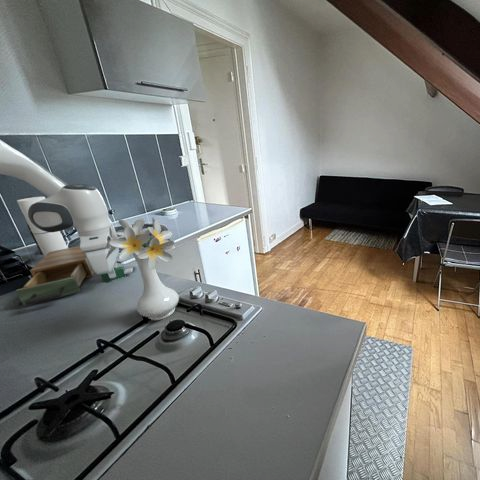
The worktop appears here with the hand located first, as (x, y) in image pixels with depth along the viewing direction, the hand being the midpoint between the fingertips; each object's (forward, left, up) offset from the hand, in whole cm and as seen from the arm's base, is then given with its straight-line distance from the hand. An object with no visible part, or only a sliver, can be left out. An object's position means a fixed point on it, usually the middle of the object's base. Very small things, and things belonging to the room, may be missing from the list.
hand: (114, 274), depth 87 cm
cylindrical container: (-22, +32, -2) cm, 39 cm away
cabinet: (-14, +15, -1) cm, 21 cm away
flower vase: (+14, -32, -2) cm, 35 cm away
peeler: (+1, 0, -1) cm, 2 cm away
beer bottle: (-28, +47, -2) cm, 55 cm away
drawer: (-14, -1, 0) cm, 14 cm away
